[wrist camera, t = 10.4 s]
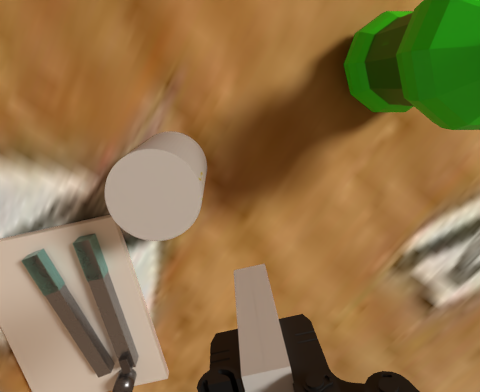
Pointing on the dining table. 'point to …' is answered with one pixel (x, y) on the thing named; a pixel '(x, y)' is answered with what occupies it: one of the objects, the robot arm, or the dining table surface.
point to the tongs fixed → (108, 309)
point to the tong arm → (68, 311)
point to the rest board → (50, 325)
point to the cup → (158, 187)
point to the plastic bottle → (421, 63)
